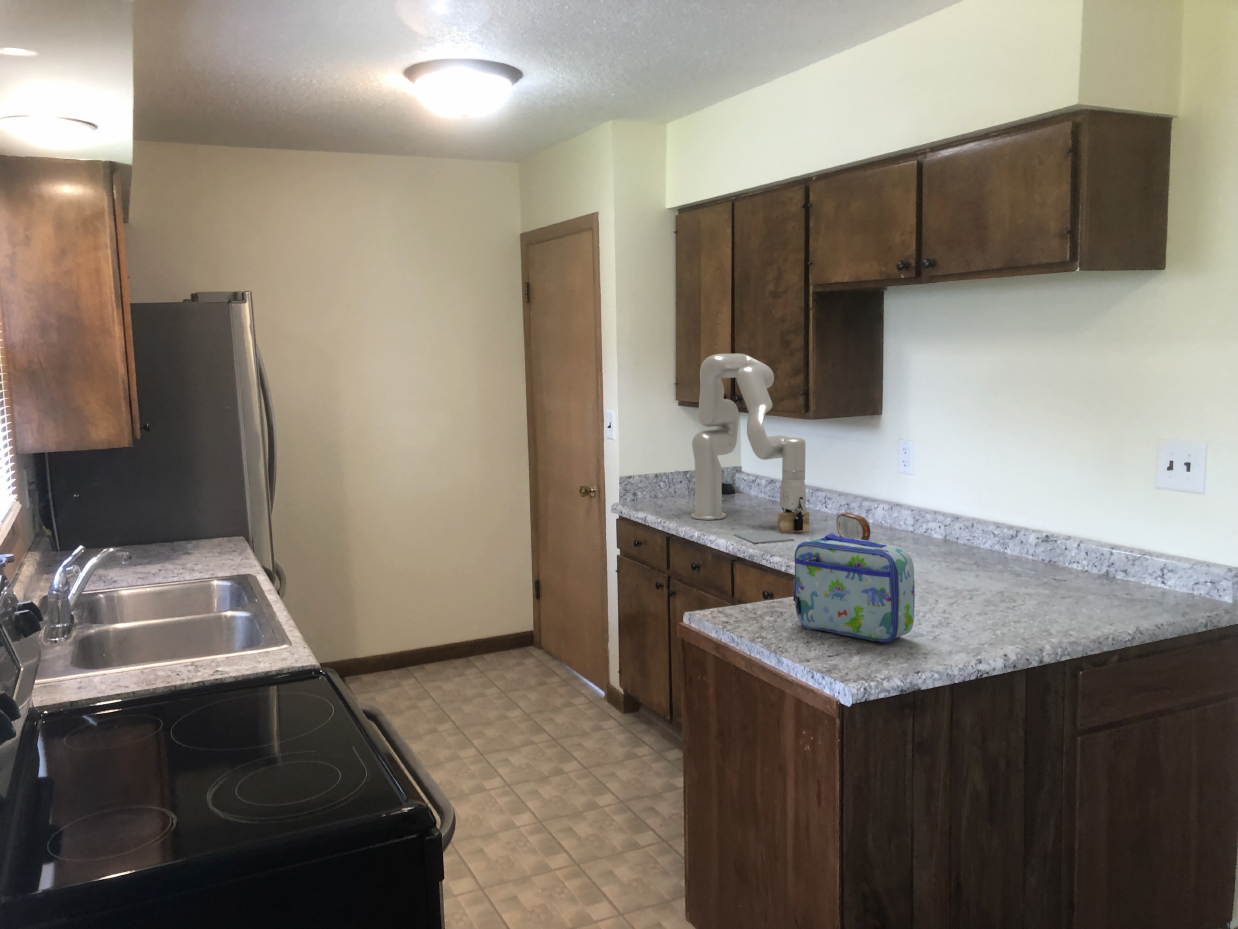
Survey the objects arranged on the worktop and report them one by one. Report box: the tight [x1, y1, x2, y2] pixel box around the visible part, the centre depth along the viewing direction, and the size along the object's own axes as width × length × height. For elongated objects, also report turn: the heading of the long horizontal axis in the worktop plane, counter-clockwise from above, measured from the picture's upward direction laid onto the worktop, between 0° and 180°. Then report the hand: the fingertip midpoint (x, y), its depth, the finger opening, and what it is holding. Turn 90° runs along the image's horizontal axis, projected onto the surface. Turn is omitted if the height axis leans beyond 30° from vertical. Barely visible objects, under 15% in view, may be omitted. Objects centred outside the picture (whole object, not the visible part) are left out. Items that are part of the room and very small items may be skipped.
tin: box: [836, 512, 871, 541], centre depth 304 cm, size 15×3×8 cm, turn 22°
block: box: [776, 511, 810, 535], centre depth 319 cm, size 4×10×6 cm, turn 109°
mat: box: [733, 529, 795, 545], centre depth 310 cm, size 15×14×1 cm
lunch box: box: [792, 532, 916, 644], centre depth 207 cm, size 26×11×21 cm, turn 44°
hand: (793, 528), depth 319 cm, fingers open, 6 cm apart
